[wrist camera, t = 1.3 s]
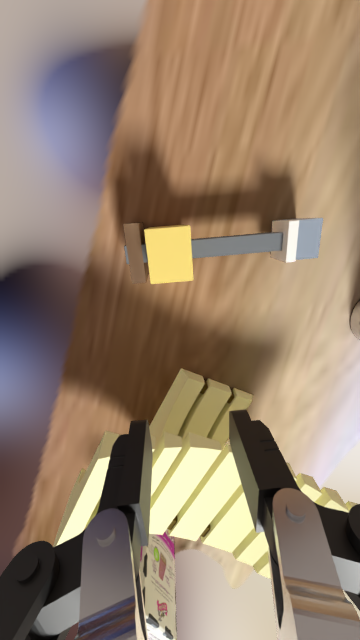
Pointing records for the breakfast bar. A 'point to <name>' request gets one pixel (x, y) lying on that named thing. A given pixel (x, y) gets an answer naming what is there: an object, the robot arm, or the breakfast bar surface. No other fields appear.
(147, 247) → the yellow sliding collar
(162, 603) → the candy bar box
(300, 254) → the block
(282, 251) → the pale beige end plate
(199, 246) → the grey slider rail
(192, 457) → the slatted curved stool
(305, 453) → the breakfast bar surface
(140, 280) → the tan flat end block
